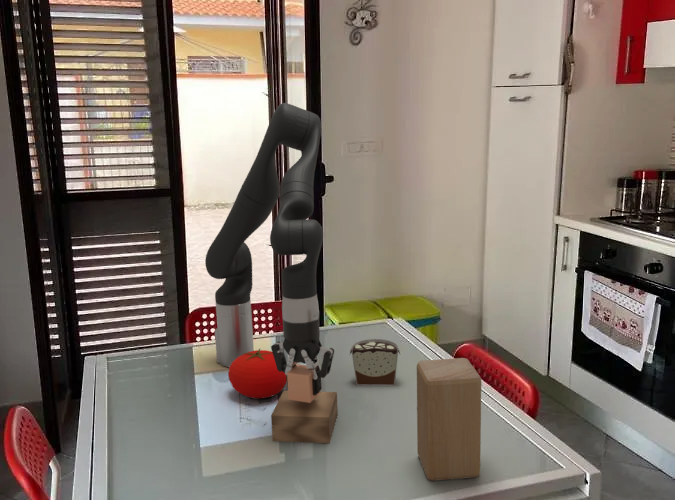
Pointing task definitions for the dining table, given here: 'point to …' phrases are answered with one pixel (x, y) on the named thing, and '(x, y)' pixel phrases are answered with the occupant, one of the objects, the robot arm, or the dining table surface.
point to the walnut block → (305, 419)
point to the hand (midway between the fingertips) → (304, 391)
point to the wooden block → (448, 418)
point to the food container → (375, 362)
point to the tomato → (256, 375)
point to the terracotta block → (300, 384)
